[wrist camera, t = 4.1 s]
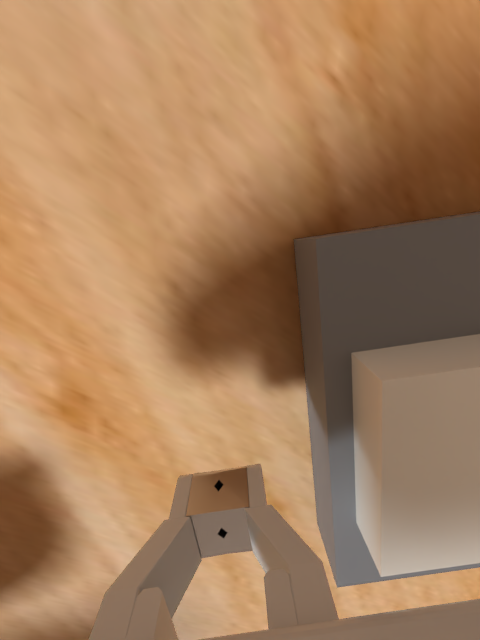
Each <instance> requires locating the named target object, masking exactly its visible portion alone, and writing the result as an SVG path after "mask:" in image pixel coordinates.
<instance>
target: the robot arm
mask: <svg viewBox="0 0 480 640" xmlns="http://www.w3.org/2000/svg"><path fill="white" fill-rule="evenodd" d="M246 551H253V553H254V555H255V556H256V558H257V560H258V561H259V563H260V565H261V566H262V568H263V569H264V571H265V573H266V575H265V576H264V583H265V594H266V605H267V617H268V628H269V630H262V631H255V632H248V633H241V634H234V635H227V636H220V637H214V638H207V639H200V640H480V599H475V600H469V601H462V602H455V603H448V604H441V605H434V606H427V607H420V608H413V609H407V610H400V611H393V612H386V613H379V614H372V615H365V616H358V617H351V618H345V619H339V618H338V615H337V611H336V608H335V604H334V601H333V598H332V594H331V591H330V587H329V584H328V580H327V577H326V573H325V570H324V566H323V563H322V561H321V560H320V559H319V558H318V557H317V555H316V554H315V553H314V552H313V551H312V550H311V549H310V548H309V547H308V545H307V544H306V543H305V542H304V541H303V540H302V539H301V538H300V537H299V535H298V534H297V533H296V532H295V531H294V530H293V529H292V528H291V526H290V525H289V524H288V523H287V522H286V521H285V520H284V519H283V518H282V516H281V515H280V514H279V513H278V512H277V511H276V510H275V509H274V507H273V506H272V505H267V501H266V494H265V488H264V482H263V475H262V469H261V464H255V465H249V466H243V467H237V468H231V469H224V470H219V471H211V472H203V473H195V474H189V475H180V476H179V478H178V480H177V485H176V489H175V494H174V498H173V503H172V507H171V512H170V516H169V519H168V520H164V521H163V523H162V524H161V525H160V526H159V528H158V529H157V530H156V531H155V532H154V534H153V535H152V536H151V537H150V539H149V540H148V541H147V542H146V544H145V545H144V546H143V547H142V548H141V550H140V551H139V552H138V553H137V555H136V556H135V557H134V558H133V559H132V561H131V562H130V563H129V564H128V566H127V567H126V568H125V569H124V571H123V572H122V573H121V574H120V575H119V577H118V578H117V579H116V580H115V582H114V583H113V584H112V585H111V586H110V588H109V589H108V590H107V591H106V593H105V595H104V598H103V601H102V604H101V606H100V609H99V612H98V615H97V618H96V620H95V623H94V626H93V629H92V632H91V634H90V637H89V640H178V637H177V635H176V632H175V629H174V626H173V623H172V620H171V619H172V617H173V615H174V613H175V611H176V609H177V607H178V605H179V603H180V601H181V599H182V597H183V595H184V593H185V591H186V590H187V588H188V586H189V584H190V582H191V580H192V578H193V576H194V574H195V572H196V570H197V568H198V566H199V564H200V562H201V558H206V557H211V556H217V555H222V554H228V553H237V552H246Z"/></svg>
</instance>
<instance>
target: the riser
mask: <svg viewBox="0 0 480 640" xmlns="http://www.w3.org/2000/svg"><path fill="white" fill-rule="evenodd" d="M294 248H295V260H296V272H297V284H298V296H299V308H300V320H301V332H302V344H303V356H304V368H305V380H306V392H307V403H308V415H309V427H310V439H311V451H312V463H313V475H314V487H315V499H316V511H317V523H318V527H319V530H320V533H321V537H322V540H323V543H324V546H325V550H326V553H327V556H328V559H329V563H330V566H331V569H332V572H333V575H334V579H335V582H336V585H337V587H344V586H351V585H358V584H365V583H372V582H379V581H386V580H393V579H400V578H407V577H414V576H421V575H428V574H436V573H443V572H450V571H457V570H464V569H471V568H478V567H480V563H477V564H470V565H462V566H455V567H448V568H441V569H434V570H427V571H420V572H413V573H406V574H399V575H392V576H385V577H381V576H380V574H379V571H378V569H377V567H376V565H375V563H374V560H373V558H372V556H371V554H370V551H369V549H368V547H367V545H366V543H365V540H364V538H363V536H362V534H361V531H360V529H359V527H358V525H357V523H356V495H355V461H354V426H353V392H352V358H351V353H353V352H360V351H367V350H374V349H380V348H387V347H394V346H401V345H408V344H415V343H421V342H428V341H435V340H442V339H449V338H455V337H462V336H469V335H476V334H480V212H473V213H466V214H460V215H453V216H446V217H440V218H433V219H426V220H420V221H413V222H406V223H400V224H393V225H386V226H380V227H373V228H366V229H360V230H353V231H346V232H340V233H333V234H326V235H320V236H313V237H306V238H299V239H294Z"/></svg>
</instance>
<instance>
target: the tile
mask: <svg viewBox="0 0 480 640" xmlns="http://www.w3.org/2000/svg"><path fill="white" fill-rule="evenodd" d="M351 358H352V392H353V426H354V461H355V495H356V523H357V525H358V527H359V529H360V531H361V534H362V536H363V538H364V540H365V543H366V545H367V547H368V549H369V551H370V554H371V556H372V558H373V560H374V563H375V565H376V567H377V569H378V571H379V574H380V576H381V577H385V576H392V575H399V574H406V573H413V572H420V571H427V570H434V569H441V568H448V567H455V566H462V565H470V564H477V563H480V334H476V335H469V336H462V337H455V338H449V339H442V340H435V341H428V342H421V343H415V344H408V345H401V346H394V347H387V348H380V349H374V350H367V351H360V352H353V353H351Z"/></svg>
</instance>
